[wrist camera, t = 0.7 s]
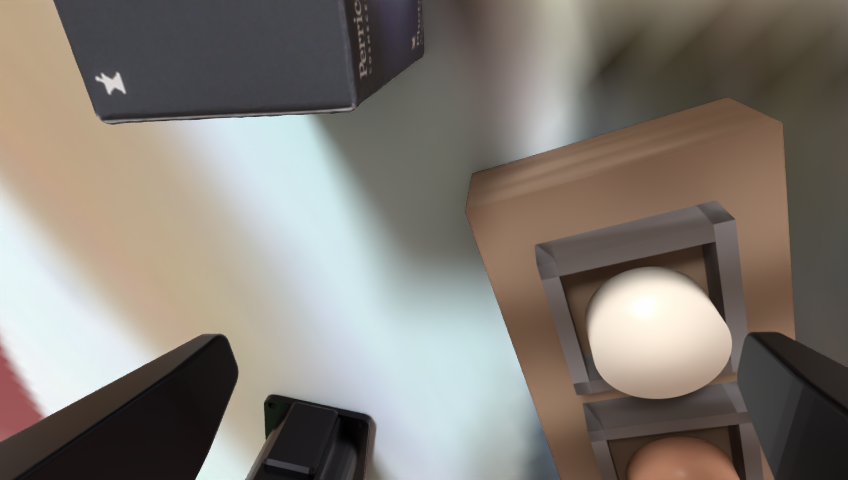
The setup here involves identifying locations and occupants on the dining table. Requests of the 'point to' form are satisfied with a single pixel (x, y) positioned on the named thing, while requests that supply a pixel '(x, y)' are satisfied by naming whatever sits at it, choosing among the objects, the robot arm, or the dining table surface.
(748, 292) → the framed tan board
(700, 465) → the button terracotta
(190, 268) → the dining table surface
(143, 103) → the small box
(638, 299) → the button cream
